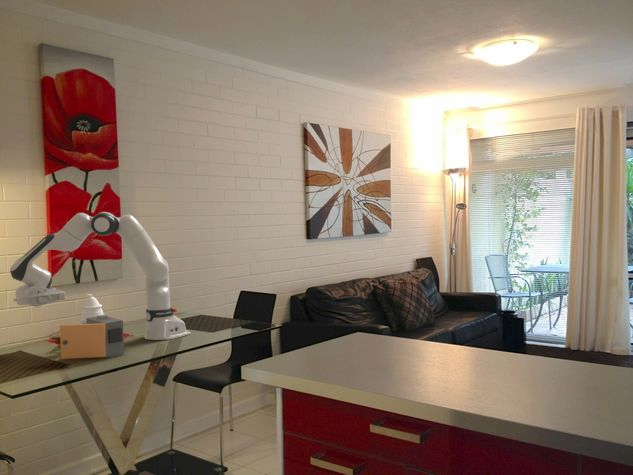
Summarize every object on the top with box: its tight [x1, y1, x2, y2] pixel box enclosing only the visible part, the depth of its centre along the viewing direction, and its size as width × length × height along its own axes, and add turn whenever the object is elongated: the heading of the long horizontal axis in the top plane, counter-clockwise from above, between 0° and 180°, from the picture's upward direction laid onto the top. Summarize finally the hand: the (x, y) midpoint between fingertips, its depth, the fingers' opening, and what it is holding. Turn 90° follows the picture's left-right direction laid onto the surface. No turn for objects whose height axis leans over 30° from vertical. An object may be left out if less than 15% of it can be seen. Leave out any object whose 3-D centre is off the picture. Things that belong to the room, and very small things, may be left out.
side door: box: [59, 323, 106, 360], centre depth 252 cm, size 3×18×14 cm, turn 96°
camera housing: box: [86, 314, 125, 359], centre depth 263 cm, size 8×19×16 cm, turn 46°
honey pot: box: [79, 293, 105, 324], centre depth 322 cm, size 13×13×18 cm
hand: (48, 299), depth 263 cm, fingers closed
